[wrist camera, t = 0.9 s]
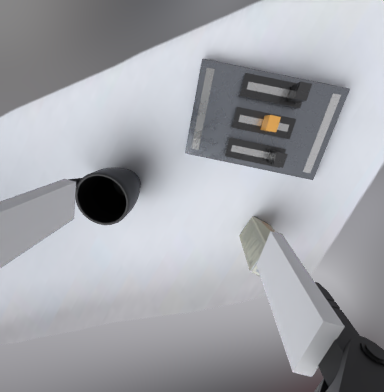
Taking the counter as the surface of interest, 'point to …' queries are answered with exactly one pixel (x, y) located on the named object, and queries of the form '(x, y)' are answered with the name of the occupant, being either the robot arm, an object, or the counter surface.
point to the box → (254, 241)
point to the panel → (253, 118)
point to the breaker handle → (270, 123)
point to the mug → (107, 194)
